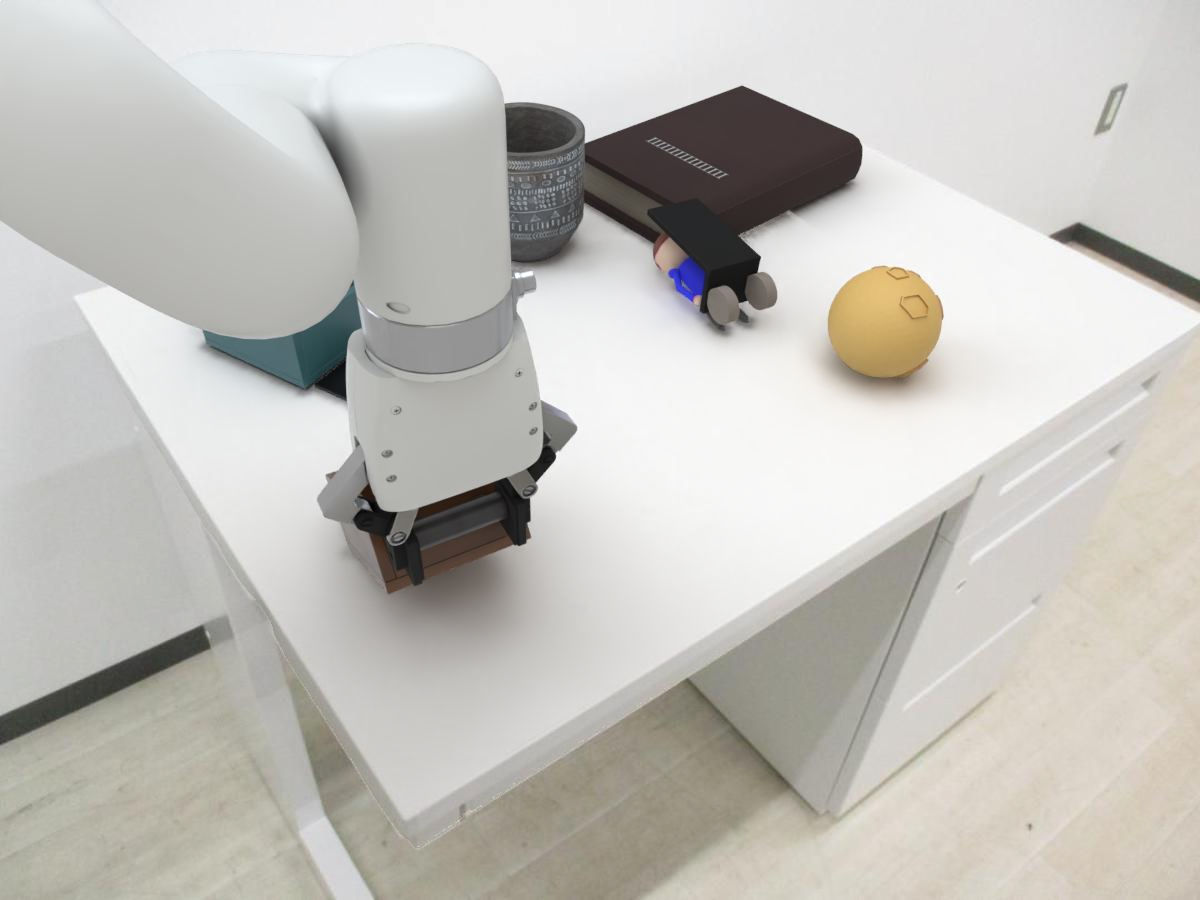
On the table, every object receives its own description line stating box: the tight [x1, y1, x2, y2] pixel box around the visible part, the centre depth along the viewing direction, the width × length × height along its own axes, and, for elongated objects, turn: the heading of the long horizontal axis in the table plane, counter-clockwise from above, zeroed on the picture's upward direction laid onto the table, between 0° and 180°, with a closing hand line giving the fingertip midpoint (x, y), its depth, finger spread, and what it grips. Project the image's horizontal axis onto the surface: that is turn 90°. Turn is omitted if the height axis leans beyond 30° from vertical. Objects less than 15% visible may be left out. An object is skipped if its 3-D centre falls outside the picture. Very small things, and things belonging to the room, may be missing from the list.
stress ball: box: [827, 265, 945, 379], centre depth 85 cm, size 10×10×10 cm
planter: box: [504, 101, 586, 263], centre depth 98 cm, size 12×12×13 cm
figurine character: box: [647, 198, 778, 332], centre depth 93 cm, size 7×8×15 cm
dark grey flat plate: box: [314, 359, 347, 402], centre depth 85 cm, size 6×8×1 cm
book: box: [584, 85, 863, 245], centre depth 110 cm, size 28×20×6 cm
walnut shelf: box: [325, 469, 532, 595], centre depth 64 cm, size 15×10×6 cm, turn 29°
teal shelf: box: [201, 280, 362, 389], centre depth 87 cm, size 15×10×6 cm, turn 60°
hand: (461, 547), depth 59 cm, fingers closed on walnut shelf, 6 cm apart
